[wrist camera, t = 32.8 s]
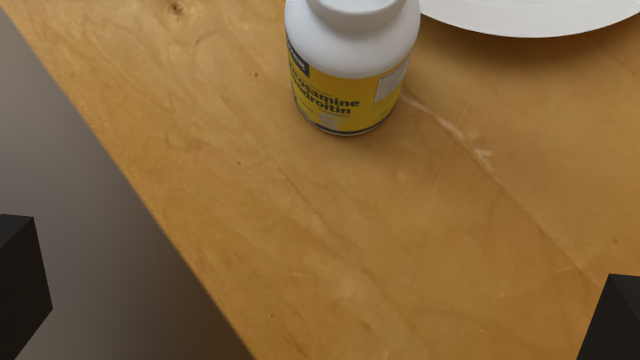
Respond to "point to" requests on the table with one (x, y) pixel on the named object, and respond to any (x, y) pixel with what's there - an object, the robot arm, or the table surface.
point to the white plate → (530, 15)
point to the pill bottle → (349, 59)
